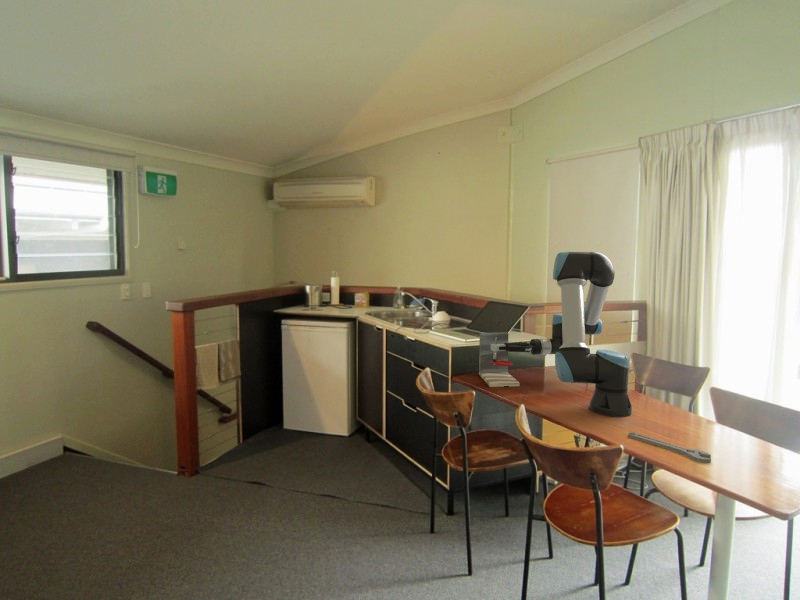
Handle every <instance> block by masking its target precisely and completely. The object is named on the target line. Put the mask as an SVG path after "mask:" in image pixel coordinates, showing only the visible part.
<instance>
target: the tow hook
mask: <svg viewBox="0 0 800 600" xmlns="http://www.w3.org/2000/svg"><path fill="white" fill-rule="evenodd" d="M494 345H497V338H495V342H494ZM492 362H493V365H494V366H495V365H499V366H508V367H512V366H513V362H512V361H510V360H508V361H504V360H496V351H494V353H493V360H492ZM501 363H508V364H501Z"/></svg>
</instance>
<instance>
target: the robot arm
mask: <svg viewBox="0 0 800 600" xmlns="http://www.w3.org/2000/svg"><path fill="white" fill-rule="evenodd" d="M552 279H553V280H554V281H556V284H557V286H558V287H560V290H561V293H560V294H561V295H560V296H561V313H554V314H553V315H552V321H551V325H552V326H551V338H532V339H530V340H529V343H528V341H524V342H523V341H515V342H508V343H504V344H497V345H494V344H491V350H492V351H505V350H506V351H508V353H511V352H512V353H530V354H531V355H533V356H535V355H536V356H537V355H544V357H545V356H547V355H554V365H555V371H556V375H557V378H558V379H559V381H561V382H562V383H569V384H593V385H594V391H593V394H592V395H591V398H590V401H589V410H591V411H592V412H594V413H597V414H600V415H603V416H606V417H607V416H609V417H627V416H630V415H632V413H633V412H632V411H633V408H632V407H633V406H632V403H631V400H630V396H629V394H628V391H629V389H628V388H629V371H630V370H629V369H630V362H629V361H630V358H629V357H628V356H627V355H626V354H624V353H622V352H619V351H614V350H608V349H597V350H596V352H595V353H591V349H590V347H589V346H588V345H587V344H586V335H587V336H588V335H591V336H593V335H594V336H595V335H601V334H602V332H603V322H602V319H600V318H601V315H602V311H603V308H604V305H605V301H606V298H607V294H608V291H609V288H610V286H611V285H612V284H613V283H614V280H615V269H614V266H613V264H612V262H611V260H610V258H609V257H607V256H606V255H604V254H603V253H601V252H597V251H563V252H558V253H557V254H556V256H555V259H554V264H553V270H552ZM588 281H589V282H590V283H589V287H588V290H587V295H586V299H584V296H585V295H584V287H585V286H586V285H587V284H588ZM584 301H585V302H584Z"/></svg>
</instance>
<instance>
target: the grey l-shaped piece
mask: <svg viewBox="0 0 800 600" xmlns="http://www.w3.org/2000/svg"><path fill="white" fill-rule="evenodd" d="M509 335H510V334H509V332H504V331H503V332H479V349H478V350H479V354H478V356H479V357H478V359H479V360H478V364H479V365H478V374H479V376H480V377H481V379H483V381H484V382H485V383H486V384H487V385H488V387H489V388H501V387H504V386H509V387H521V385H520V384H521V383H520V382H519V380H517V379H516V378H515V377H513V375H511V374H510V373H509V369H508V368H509V366H499V365H495V366H494V365H493V362H492V360H493V353H494V351H492V350H491V344H494V342H495V338H497V344H504V343H509ZM496 360H504V361H509V352H508V351H506V350H505V351H496ZM501 364H508V363H501ZM504 388H505V387H504Z"/></svg>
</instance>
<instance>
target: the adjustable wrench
mask: <svg viewBox="0 0 800 600" xmlns="http://www.w3.org/2000/svg"><path fill="white" fill-rule="evenodd" d="M627 434H628V438H631V439H635V440H638V441H641V442H643V443H647V444H650V445H653V446H657V447H660V448H663V449H666V450H669V451H671V452H672V451H673V452H675V453H678V454H680V455H683V456H685V457H687V458H688V459H690V460H692V461H694V462H697V463H701V464H711V463H712V459H711V457H712V454H711V453H709V452H707V451H703V450H701V449H698V448H697V449H693V448H685V447H682V446H678V445H675V444H671V443H669V442H665V441H663V440H659V439H656V438H652V437H650V436H646V435H643V434H640V433H636V432H631V431H630V432H628V433H627Z"/></svg>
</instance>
